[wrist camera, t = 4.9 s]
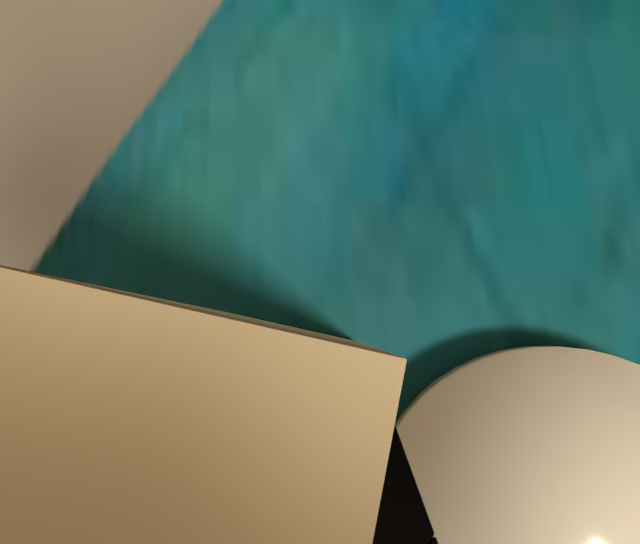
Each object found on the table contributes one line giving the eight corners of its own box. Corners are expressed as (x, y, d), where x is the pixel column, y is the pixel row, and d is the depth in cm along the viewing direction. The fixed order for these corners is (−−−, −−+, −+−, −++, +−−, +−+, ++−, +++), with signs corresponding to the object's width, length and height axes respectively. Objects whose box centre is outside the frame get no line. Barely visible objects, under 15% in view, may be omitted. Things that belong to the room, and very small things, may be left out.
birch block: (327, 469, 16) (274, 1065, 3) (203, 438, 16) (-331, 842, 3) (354, 340, 16) (406, 358, 4) (234, 313, 17) (-104, 244, 4)
